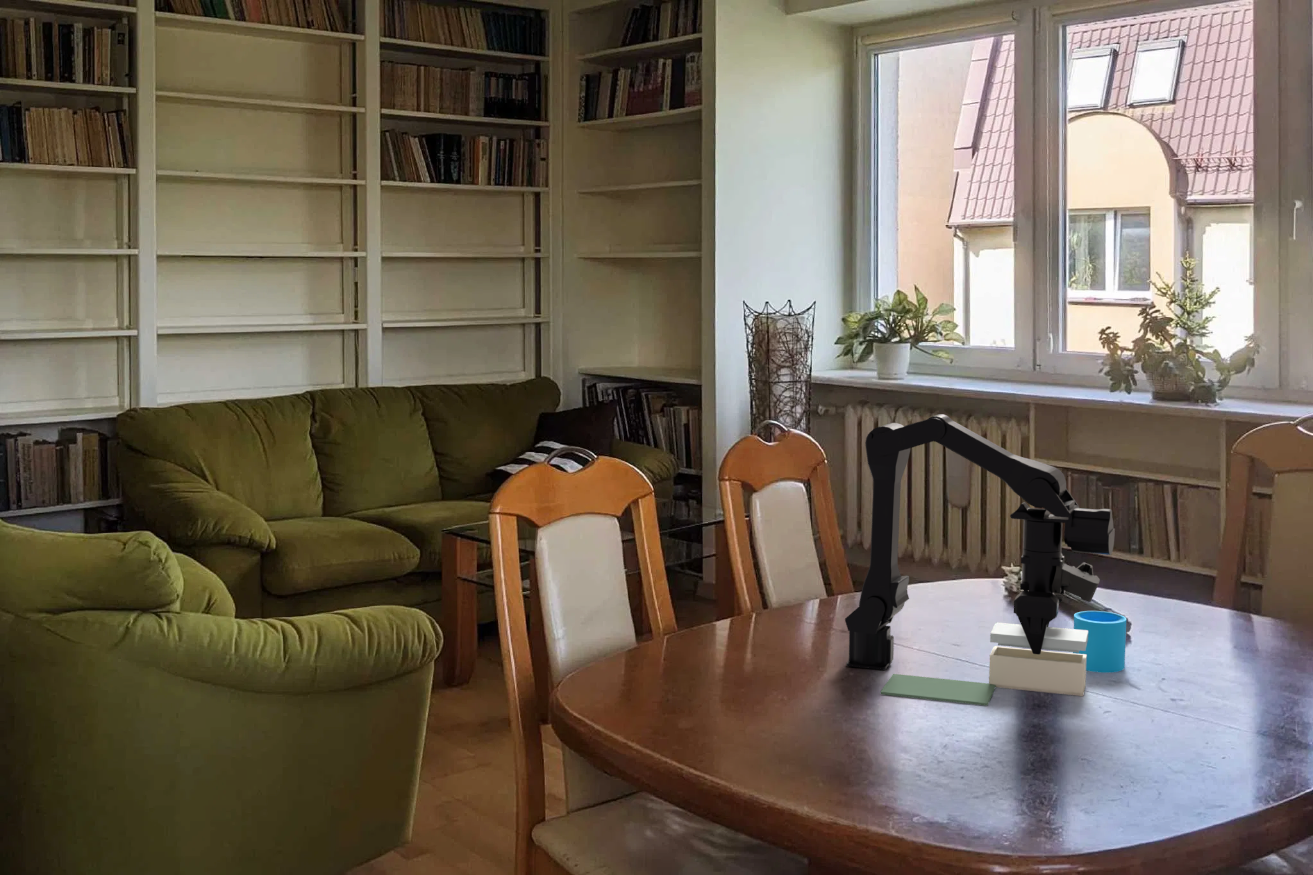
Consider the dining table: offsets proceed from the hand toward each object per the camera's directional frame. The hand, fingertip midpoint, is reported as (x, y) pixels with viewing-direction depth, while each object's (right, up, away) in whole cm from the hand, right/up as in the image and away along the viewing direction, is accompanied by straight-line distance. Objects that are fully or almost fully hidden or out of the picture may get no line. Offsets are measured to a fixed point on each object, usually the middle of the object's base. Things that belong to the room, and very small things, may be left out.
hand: (1038, 647), depth 208 cm
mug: (+14, -5, +13) cm, 20 cm away
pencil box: (0, -6, +1) cm, 6 cm away
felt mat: (-16, -6, -1) cm, 17 cm away
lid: (0, +1, 0) cm, 1 cm away
